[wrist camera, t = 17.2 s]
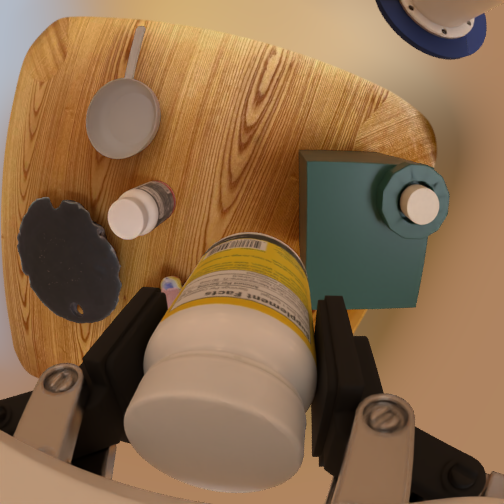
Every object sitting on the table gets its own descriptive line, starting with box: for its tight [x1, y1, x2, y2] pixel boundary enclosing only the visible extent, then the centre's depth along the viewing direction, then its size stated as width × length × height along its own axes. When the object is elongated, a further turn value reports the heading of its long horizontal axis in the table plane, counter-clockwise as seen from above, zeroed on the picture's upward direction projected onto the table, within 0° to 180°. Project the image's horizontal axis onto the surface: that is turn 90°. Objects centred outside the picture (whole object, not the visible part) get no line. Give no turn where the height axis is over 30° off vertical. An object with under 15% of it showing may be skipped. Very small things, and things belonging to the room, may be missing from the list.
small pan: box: [86, 26, 161, 159], centre depth 35 cm, size 11×18×4 cm, turn 166°
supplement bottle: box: [124, 232, 317, 493], centre depth 10 cm, size 5×5×8 cm
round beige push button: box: [400, 184, 439, 225], centre depth 20 cm, size 3×3×2 cm
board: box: [17, 197, 122, 323], centre depth 45 cm, size 22×22×5 cm
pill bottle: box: [108, 181, 176, 239], centre depth 38 cm, size 6×6×10 cm
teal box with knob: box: [299, 150, 449, 310], centre depth 31 cm, size 12×11×19 cm
